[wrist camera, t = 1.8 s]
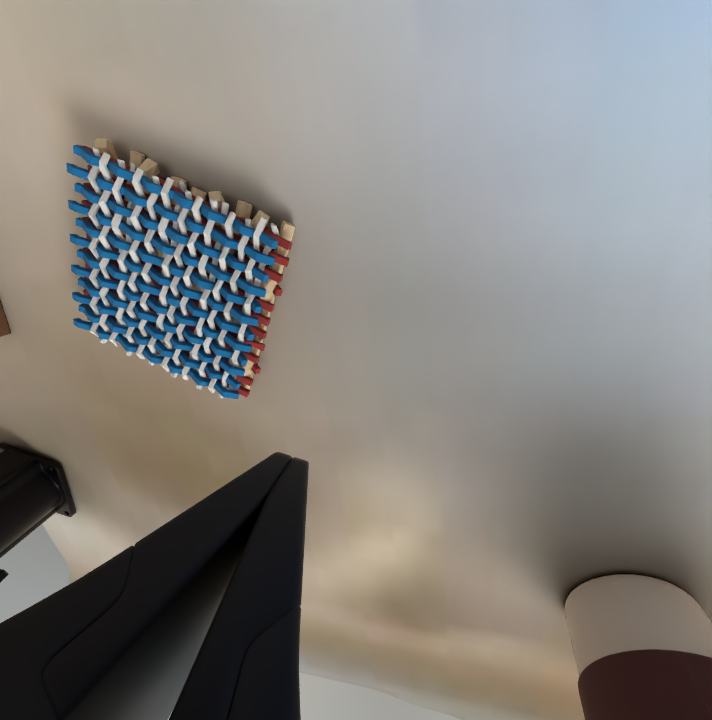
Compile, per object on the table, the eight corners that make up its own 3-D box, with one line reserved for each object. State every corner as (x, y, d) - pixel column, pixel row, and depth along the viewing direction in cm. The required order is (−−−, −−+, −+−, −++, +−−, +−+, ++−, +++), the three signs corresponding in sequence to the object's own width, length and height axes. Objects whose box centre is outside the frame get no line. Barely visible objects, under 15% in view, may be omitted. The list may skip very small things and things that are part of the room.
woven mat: (256, 396, 20) (239, 415, 19) (101, 322, 21) (69, 334, 19) (308, 227, 15) (290, 231, 14) (102, 131, 16) (59, 123, 14)
